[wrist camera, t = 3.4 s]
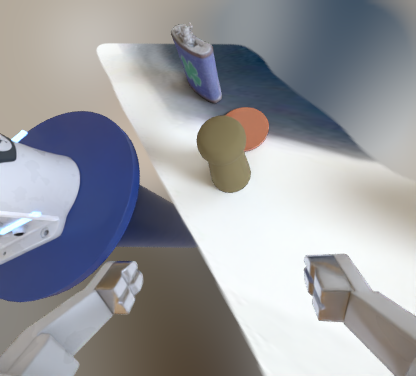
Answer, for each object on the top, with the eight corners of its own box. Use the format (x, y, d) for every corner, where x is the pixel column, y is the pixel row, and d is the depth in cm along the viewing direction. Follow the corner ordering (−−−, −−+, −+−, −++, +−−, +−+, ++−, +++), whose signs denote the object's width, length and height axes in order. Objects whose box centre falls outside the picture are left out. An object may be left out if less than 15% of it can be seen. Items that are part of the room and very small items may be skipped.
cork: (203, 172, 29) (177, 131, 19) (233, 148, 29) (223, 95, 19) (227, 200, 27) (212, 171, 17) (259, 175, 27) (264, 130, 17)
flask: (225, 97, 33) (213, 31, 23) (212, 107, 33) (195, 46, 23) (195, 72, 36) (174, 6, 26) (184, 82, 36) (158, 19, 26)
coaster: (237, 161, 28) (237, 159, 28) (209, 128, 31) (208, 126, 31) (279, 131, 28) (280, 129, 28) (247, 101, 31) (247, 98, 31)
